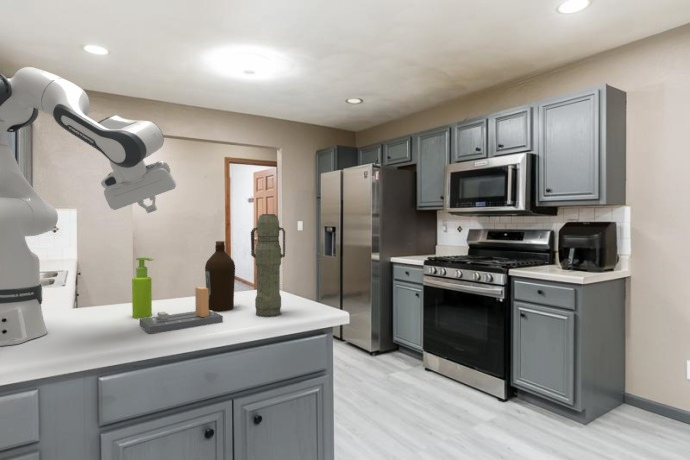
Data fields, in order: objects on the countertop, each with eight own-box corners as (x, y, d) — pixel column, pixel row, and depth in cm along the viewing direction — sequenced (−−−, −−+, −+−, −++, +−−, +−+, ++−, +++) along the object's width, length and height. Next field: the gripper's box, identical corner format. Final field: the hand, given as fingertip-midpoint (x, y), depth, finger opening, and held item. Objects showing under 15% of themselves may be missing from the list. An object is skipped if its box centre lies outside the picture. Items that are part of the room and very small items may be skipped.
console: (149, 333, 120) (149, 321, 120) (139, 325, 130) (139, 313, 129) (222, 322, 134) (222, 310, 134) (208, 315, 143) (208, 304, 143)
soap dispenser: (146, 318, 138) (146, 258, 137) (128, 317, 139) (127, 258, 139) (158, 314, 144) (157, 257, 143) (140, 313, 145) (139, 256, 144)
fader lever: (200, 317, 131) (200, 288, 131) (195, 314, 135) (195, 286, 135) (208, 315, 133) (208, 288, 132) (203, 313, 137) (202, 286, 136)
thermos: (251, 311, 149) (251, 214, 148) (285, 310, 151) (285, 214, 150) (249, 317, 140) (249, 213, 139) (285, 316, 142) (285, 214, 141)
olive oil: (234, 305, 160) (233, 240, 159) (236, 311, 150) (236, 241, 149) (205, 306, 156) (204, 240, 156) (205, 313, 146) (205, 242, 146)
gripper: (165, 157, 130) (184, 196, 136) (99, 180, 127) (122, 219, 133) (164, 161, 125) (184, 202, 131) (95, 185, 121) (118, 226, 127)
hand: (152, 211), depth 132 cm, fingers closed
